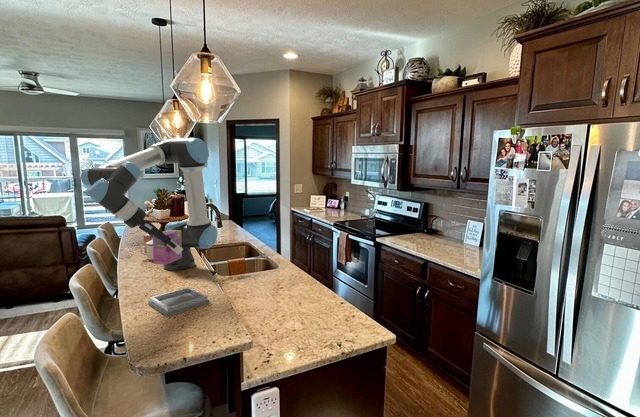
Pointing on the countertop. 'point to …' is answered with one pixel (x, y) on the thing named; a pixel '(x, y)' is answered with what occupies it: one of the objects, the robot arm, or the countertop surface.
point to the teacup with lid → (148, 250)
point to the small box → (146, 240)
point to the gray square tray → (177, 300)
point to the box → (166, 248)
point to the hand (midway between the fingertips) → (175, 249)
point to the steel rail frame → (172, 308)
